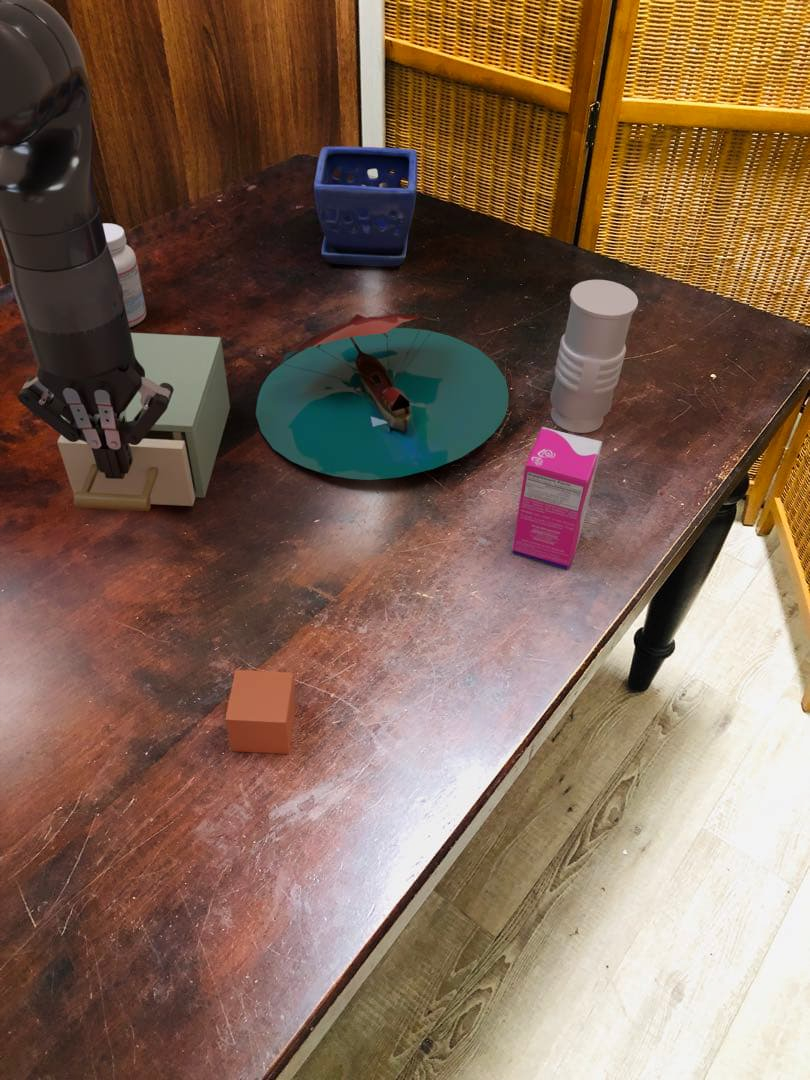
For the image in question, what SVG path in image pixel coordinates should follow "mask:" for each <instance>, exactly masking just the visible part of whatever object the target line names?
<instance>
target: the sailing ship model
mask: <svg viewBox="0 0 810 1080" xmlns="http://www.w3.org/2000/svg"><path fill="white" fill-rule="evenodd" d="M417 319H419V320H423V322H422V324H421V327H420V328H408V327H397V326H399V325H401V324H403V323H406V322H410V321H414V320H417ZM426 320H427V321H428V320H429V321H433V322H437V323H435V325H434V327H433V329H432V330H428V329H422V327H423V326H424V323H425V321H426ZM440 322H441V319H437V318H431V317H426V316H423V315H415V314H414V315H413V314H398V313H395V314H394V313H390V314H381V315H373V316H368V317H365V316H363V315H360V314H357V313H356V314H355V315H354V316H353V317H352V318H351V319H350V320H349V321H348V322H346V323H340V324H337V325H336V326H334V327H331V328H327V329H325V330H323V331H320V332H318V333H316V334H314V335H312V336H310V337H308V338H305V339H304V340H303V341H302V342H300V343H299V344H298V345H296V346H295V347H294V348H292V349H291V350H290V351H288V352H286V353H285V355H284V356H283V358H282V360H281V361H280V362H279V363H278V366H277V367H276V368H274V369H273V370H272V371H271V372H270V373H269V375H268V376H267V377H266V379H265V380H264V382H263V384H262V385H261V387H260V390H259V393H258V396H257V402H256V407H255V417H256V420H257V423H258V427H259V430H260V433H261V434H262V435H263V437H264V439H266V441H267V443H268V444H269V445H270V447H271V448H272V449H273V450H274V451H275V452H277V453H279V454H280V455H281V456H283V457H284V458H286V459H287V460H288V461H290V462H292V463H294V464H297V465H299V466H301V467H304V468H305V469H310V470H312V471H315V472H318V473H321V474H325V475H328V476H331V477H332V476H333V477H338V478H344V479H350V480H365V481H372V480H384V479H393V478H402V477H406V476H411V475H414V474H415V475H416V474H419V473H422V472H426V471H431V470H434V469H436V468H437V469H438V468H439V467H442V466H444V465H446V464H449V463H452V462H454V461H457V460H459V459H461V458H463V457H465V456H466V455H468V454H469V453H471V452H472V451H474V450H476V449H477V448H478V447H479V446H481V445H483V444H484V443H485V442H486V441H487V440H488V439H489V438H490V437H491V436H493V434H494V433H496V431H497V429H498V428H499V427H500V426H501V425H502V423H503V421H504V419H505V417H506V414H507V411H508V408H509V398H510V397H509V396H510V394H509V388H508V384H507V379H506V377H505V376H504V374H503V373H502V371H501V370H500V368H499V367H498V366H497V364H496V363H495V362H494V361H493V360H492V359H491V358H490V357H489V356H487V354H485V353H484V352H483V351H482V350H481V349H479V348H477V347H475V346H474V345H471V344H469V343H467V342H466V341H463V340H461V339H459V338H456V337H453V336H451V335H448V334H444V333H440V332H437V331H434V329H435V327H436V326H437V325H438V323H440ZM299 350H301V351H299ZM298 351H299V352H298ZM297 352H298V353H297Z"/></svg>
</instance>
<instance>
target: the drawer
mask: <svg viewBox="0 0 810 1080" xmlns="http://www.w3.org/2000/svg"><path fill="white" fill-rule="evenodd" d="M59 435H60V434H59ZM56 443H57V447H58V449H59V452H60V455H61V459H62V462H63V465H64V468H65V471H66V474H67V477H68V481H69V484H70V487H71V490H72V494H73V500H72V501H73V506H74V507H75V508H78V509H79V508H80V509H100V510H115V511H116V510H117V511H135V512H137V511H139V512H149V511H150V509H151V505H162V506H163V505H164V506H166V505H167V506H181V507H182V506H183V507H193V506H194V504H195V500H196V497H195V494H194V489H193V483H192V480H193V473H192V468H191V462H190V457H189V451H188V446H187V440H186V435H185V432H174V431H154V430H150V431H149V432H148V433H147V434H146V436H145V437H144V438H143V439H142V441H141V442H140V443H139V444H138V445H132V444H129V445H130V449H131V453H132V457H133V461H132V464H131V467H130V470H129V472H128V474H125V476H124V479H109V478H106V477H105V473H102V472H100V471H99V469H98V468H97V465H96V462H95V458H94V455H93V451H92V448H91V447H90V446H89V445H88V444H87V442H85V441H82V440H78V441H76V442H71V441H69V440H67V439H66V438H65V437H63V436H62V435H60V436H59V438H58V439H57V442H56Z"/></svg>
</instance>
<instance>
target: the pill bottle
mask: <svg viewBox="0 0 810 1080" xmlns="http://www.w3.org/2000/svg"><path fill="white" fill-rule="evenodd" d="M102 223H103V222H102ZM103 228H104V232H105V237H106V241H107V245H108V248H109V251H110V254H111V256H112V259H113V261H114V264H115V267H116V270H117V274H118V279H119V282H120V284H121V286H122V290H123V301H124V306H125V310H126V314H127V319H128V323H129V328H133V327H134V326H136V325H139V324H141V323H142V322H143V321H144V320H145V318H146V317H147V307H146V302H145V298H144V297H145V296H144V292H143V287H142V281H141V277H140V272H139V267H138V260H137V257H136V253H135V251H134V250H133V249H132V247H130V246H129V245H128V244H127V237H126V233H125V232H126V231H125V230H124V228H123V227H122V226H120V225H118V224H115V223H109V222H106V223H103Z"/></svg>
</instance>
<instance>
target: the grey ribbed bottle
mask: <svg viewBox="0 0 810 1080" xmlns="http://www.w3.org/2000/svg"><path fill="white" fill-rule="evenodd" d="M569 301H570V307H569V311H568V316H567V321H566V326H565V332H564V333H563V335H562V336H561V338H560V341H559V348H558V351H557V358H556V363H555V364H556V365H555V368H554V377H555V379H554V382H553V385H552V388H551V393H550V395H549V401H550V403H551V406H552V408H551V411H550V416H551V419H552V421H553V422H554V423H555V424H556V425H557V426H559V427H560V428H562V429H563V430H566V431H568V432H572V433H577V434H585V433H591V432H595V431H597V430H599V429H600V428H602V427H601V426H603V424H604V417H605V416H606V415H608V414H609V412H610V411H611V408H612V405H613V404H612V403H613V397H614V390H615V388H616V387H617V385H618V384H619V380H620V376H621V371H622V367H623V364H624V360H625V357H626V353H627V347H626V340H627V336H628V333H629V328H630V325H631V321H632V318H633V314H634V313H635V311H637V308H638V304H639V299H638V296H637V295H636V293H635V292H634V291H633V290H632V289H630V288H629V287H627V286H626V285H623V284H621V283H618V282H616V281H612V280H607V279H589V280H584V281H580V282H578V283H577V284H575V285H574V286H573V287H572V288H571V290H570V292H569Z"/></svg>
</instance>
